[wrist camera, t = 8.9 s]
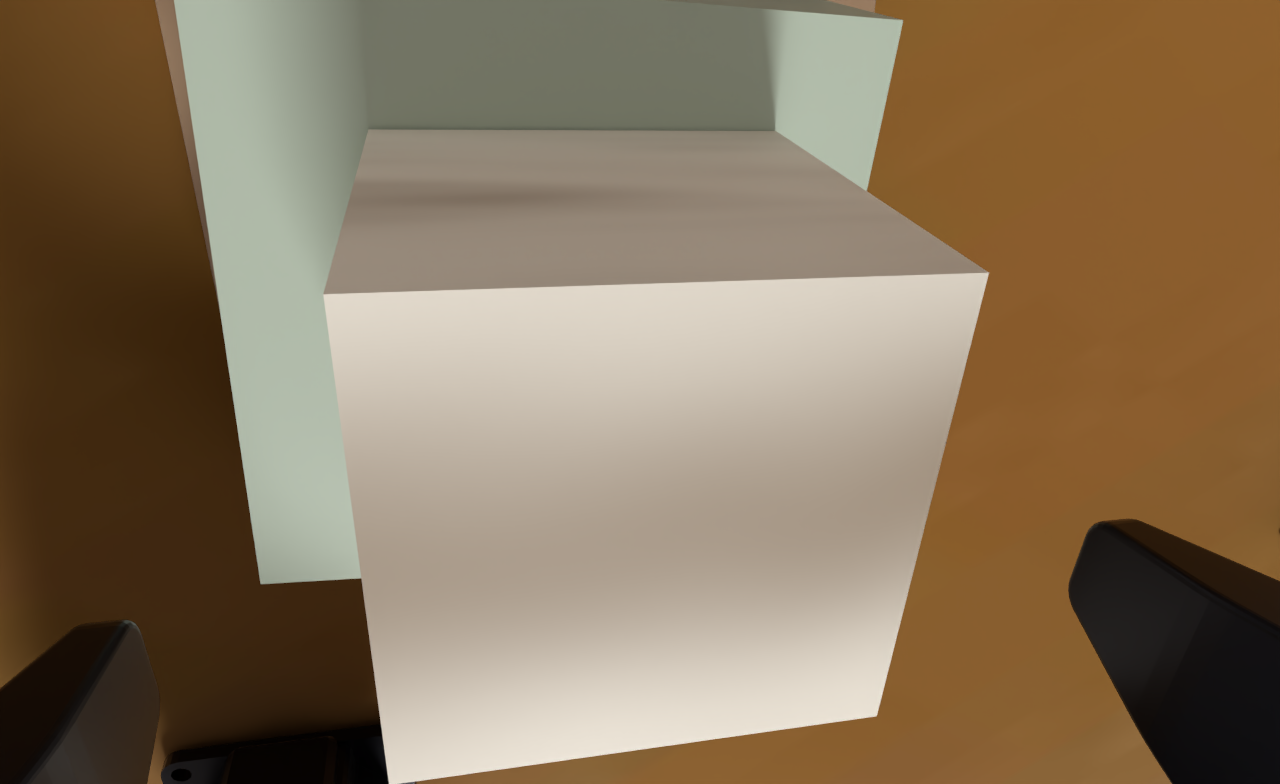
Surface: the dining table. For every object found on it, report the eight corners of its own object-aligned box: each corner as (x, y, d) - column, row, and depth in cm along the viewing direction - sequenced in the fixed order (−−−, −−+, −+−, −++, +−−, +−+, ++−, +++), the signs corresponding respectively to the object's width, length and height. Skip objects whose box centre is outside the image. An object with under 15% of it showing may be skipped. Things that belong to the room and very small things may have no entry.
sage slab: (744, 470, 20) (789, 552, 18) (285, 487, 18) (260, 584, 16) (826, 0, 16) (903, 19, 13) (219, -52, 13) (168, -41, 11)
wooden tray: (761, 416, 23) (801, 479, 21) (285, 450, 21) (264, 527, 19) (824, -99, 18) (891, -98, 15) (178, -130, 15) (126, -136, 13)
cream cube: (736, 460, 16) (876, 715, 11) (403, 484, 15) (389, 785, 10) (775, 130, 13) (989, 273, 8) (368, 129, 12) (323, 294, 7)
